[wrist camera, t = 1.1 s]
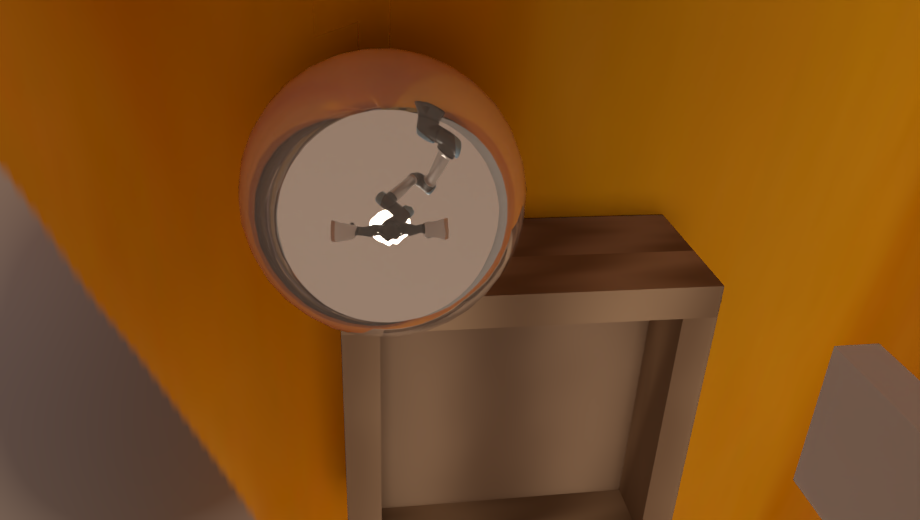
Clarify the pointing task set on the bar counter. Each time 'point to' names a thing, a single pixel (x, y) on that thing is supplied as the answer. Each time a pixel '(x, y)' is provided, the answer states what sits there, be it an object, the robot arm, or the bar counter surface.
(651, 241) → the walnut box
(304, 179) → the light bulb
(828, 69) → the bar counter surface
